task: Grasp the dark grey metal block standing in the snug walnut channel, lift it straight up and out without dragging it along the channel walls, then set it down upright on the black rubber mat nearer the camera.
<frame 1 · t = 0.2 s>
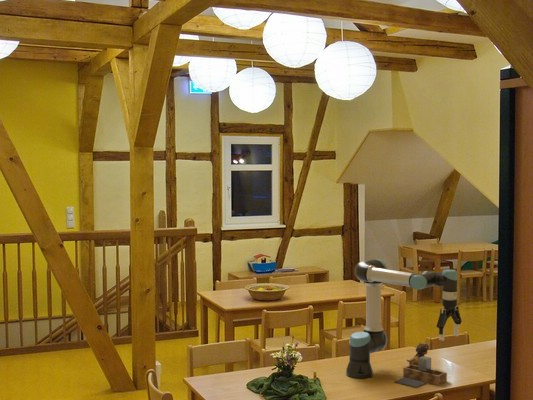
hand: (448, 338, 367), 27 cm above the table, fingers open, 13 cm apart
metal block: (424, 368, 384), in the channel
figurine: (416, 370, 400), on the table
channel: (424, 378, 384), on the table
rubber mat: (410, 383, 377), on the table
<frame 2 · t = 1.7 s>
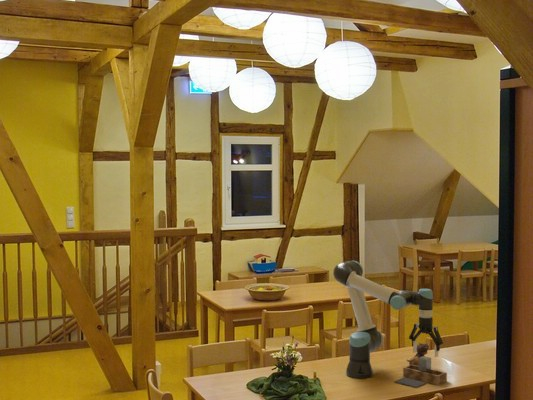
hand: (425, 354, 383), 14 cm above the table, fingers open, 13 cm apart
nothing on the table moved.
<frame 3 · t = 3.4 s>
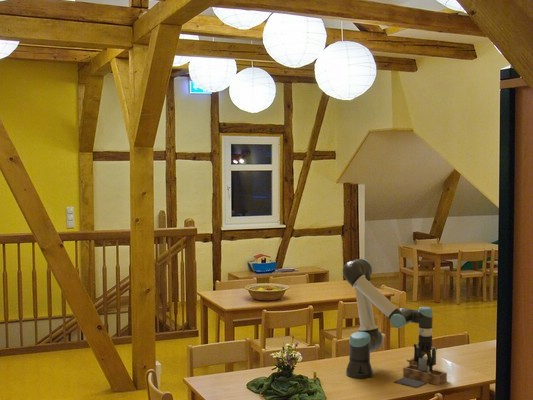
hand: (424, 375, 384), 2 cm above the table, fingers closed on metal block, 5 cm apart
metal block: (424, 368, 384), in the channel, touching gripper
everything else where it was.
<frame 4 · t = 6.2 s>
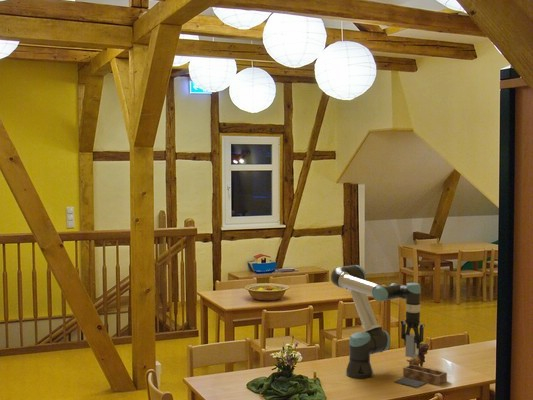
hand: (411, 352, 377), 16 cm above the table, fingers closed on metal block, 5 cm apart
metal block: (412, 345, 377), point 21 cm above the table, touching gripper
everything else where it was.
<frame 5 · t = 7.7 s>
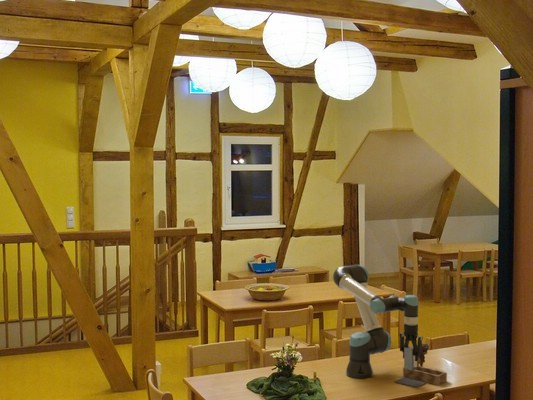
hand: (410, 365, 376), 10 cm above the table, fingers closed on metal block, 5 cm apart
metal block: (410, 358, 376), point 14 cm above the table, touching gripper
everything else where it was.
when the fingers open (4 cm above the table, at t = 9.1 s): metal block drops 1 cm, resting on rubber mat.
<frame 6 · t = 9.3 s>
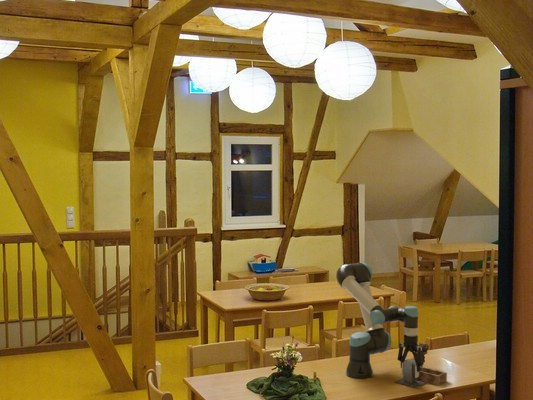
hand: (410, 375, 377), 4 cm above the table, fingers open, 8 cm apart
metal block: (410, 371, 377), on the rubber mat, point 7 cm above the table
everything else where it was.
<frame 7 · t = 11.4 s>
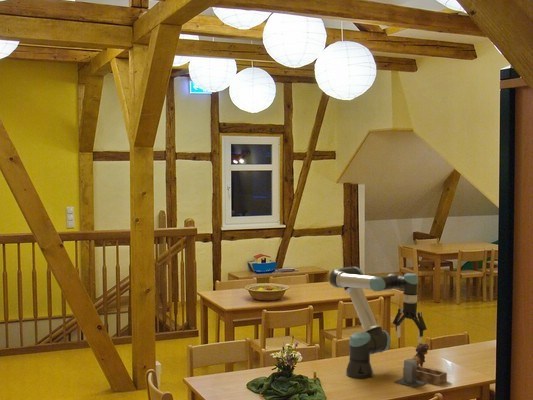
hand: (409, 339, 378), 23 cm above the table, fingers open, 13 cm apart
nothing on the table moved.
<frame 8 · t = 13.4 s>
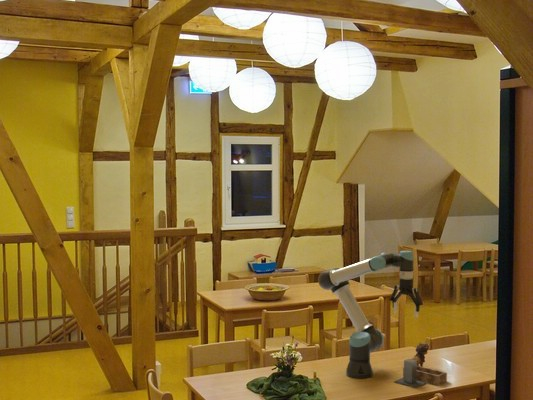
hand: (405, 315, 388), 35 cm above the table, fingers open, 13 cm apart
nothing on the table moved.
at the end: metal block 0.0 cm from the rubber mat (horizontally); metal block touching rubber mat; metal block tilted 0° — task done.
